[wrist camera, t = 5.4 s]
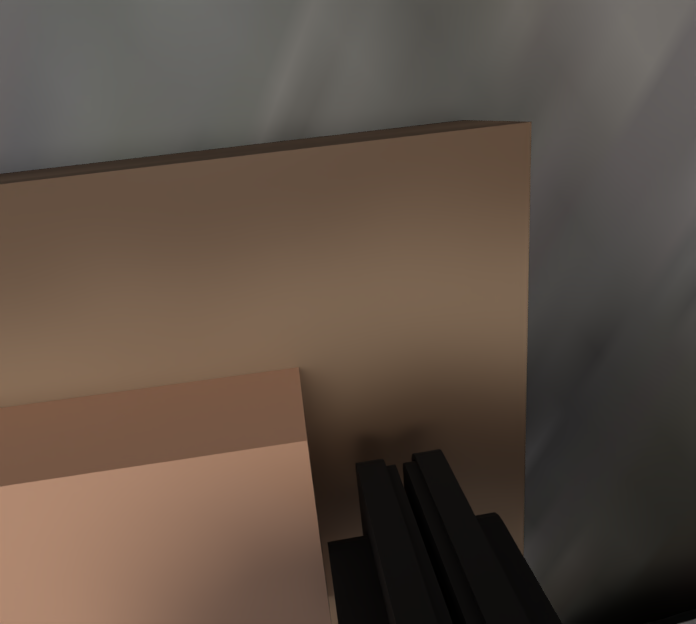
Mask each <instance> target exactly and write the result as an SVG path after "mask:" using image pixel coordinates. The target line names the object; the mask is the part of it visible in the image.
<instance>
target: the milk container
mask: <svg viewBox="0 0 696 624" xmlns="http://www.w3.org/2000/svg"><path fill="white" fill-rule="evenodd" d="M644 624H696V609H693V610H689V611H686V612H682V613H679V614H676V615H673V616H670V617H667V618H664V619H661V620H657V621H652V622H648V623H644Z"/></svg>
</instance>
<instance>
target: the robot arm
mask: <svg viewBox="0 0 696 624" xmlns="http://www.w3.org/2000/svg"><path fill="white" fill-rule="evenodd" d="M355 466H356V477H357V486H358V495H359V504H360V513H361V522H362V531H363V536H359V537H353V538H348V539H342V540H336V541H331V542H327V543H328V551H329V559H330V566H331V574H332V581H333V589H334V596H335V604H336V611H337V619H338V624H562V623H561V621H560V619H559V618H558V616H557V614H556V612H555V611H554V609H553V607H552V605H551V604H550V602H549V600H548V598H547V597H546V595H545V593H544V591H543V590H542V588H541V586H540V585H539V583H538V581H537V579H536V578H535V576H534V574H533V572H532V571H531V569H530V567H529V565H528V564H527V562H526V560H525V558H524V557H523V555H522V553H521V551H520V550H519V548H518V546H517V544H516V543H515V541H514V539H513V537H512V536H511V534H510V532H509V531H508V529H507V527H506V525H505V524H504V522H503V520H502V519H501V517H500V516H499V515H498V514H497V513H495V512H493V513H487V514H481V515H476V516H475V514H474V512H473V510H472V508H471V506H470V504H469V502H468V500H467V498H466V497H465V495H464V493H463V491H462V489H461V487H460V485H459V483H458V481H457V479H456V477H455V475H454V473H453V471H452V469H451V467H450V465H449V463H448V461H447V459H446V457H445V456H444V454H443V452H442V450H440V449H437V450H431V451H425V452H419V453H413V454H412V462H406V463H403V478H404V486H403V483H402V480H401V478H400V475H399V472H398V469H397V467H396V465H395V464H394V465H388V466H386V464H385V461H384V459H377V460H371V461H365V462H359V463H356V464H355Z"/></svg>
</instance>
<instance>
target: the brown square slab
mask: <svg viewBox="0 0 696 624" xmlns="http://www.w3.org/2000/svg"><path fill="white" fill-rule="evenodd" d="M530 165H531V122H515V121H473V120H462V121H453V122H444V123H436V124H427V125H419V126H410V127H401V128H393V129H384V130H375V131H367V132H358V133H349V134H341V135H332V136H324V137H315V138H306V139H298V140H289V141H280V142H272V143H263V144H255V145H246V146H237V147H229V148H220V149H211V150H203V151H194V152H185V153H177V154H168V155H160V156H151V157H142V158H134V159H125V160H116V161H108V162H99V163H90V164H82V165H73V166H65V167H56V168H47V169H39V170H30V171H21V172H13V173H4V174H0V408H3V407H10V406H18V405H25V404H32V403H40V402H47V401H54V400H62V399H69V398H76V397H84V396H91V395H98V394H106V393H113V392H120V391H128V390H135V389H142V388H150V387H157V386H164V385H172V384H179V383H186V382H194V381H201V380H208V379H216V378H223V377H230V376H238V375H245V374H252V373H260V372H267V371H274V370H282V369H289V368H296V367H299V373H300V381H301V388H302V396H303V404H304V411H305V419H306V427H307V434H308V442H309V450H310V457H311V465H312V473H313V481H314V488H315V496H316V504H317V511H318V519H319V527H320V534H321V542H322V550H323V558H324V565H325V573H326V581H327V588H328V596H329V604H330V612H331V621H332V624H338V619H337V611H336V604H335V596H334V589H333V581H332V574H331V566H330V559H329V551H328V543H327V542H331V541H336V540H342V539H348V538H353V537H359V536H363V531H362V522H361V513H360V504H359V495H358V486H357V477H356V466H355V464H356V463H359V462H365V461H371V460H377V459H384V461H385V464H386V466H388V465H394V464H395V465H396V467H397V469H398V472H399V475H400V478H401V480H402V483H403V486H404V478H403V463H406V462H412V454H413V453H419V452H425V451H431V450H437V449H440V450H442V452H443V454H444V456H445V457H446V459H447V461H448V463H449V465H450V467H451V469H452V471H453V473H454V475H455V477H456V479H457V481H458V483H459V485H460V487H461V489H462V491H463V493H464V495H465V497H466V498H467V500H468V502H469V504H470V506H471V508H472V510H473V512H474V514H475V516H476V515H481V514H487V513H493V512H495V513H497V514H498V515H499V516H500V517H501V519H502V520H503V522H504V524H505V525H506V527H507V529H508V531H509V532H510V534H511V536H512V537H513V539H514V541H515V543H516V544H517V546H518V548H519V550H520V551H521V553H522V555H523V550H524V495H525V440H526V385H527V330H528V275H529V220H530Z"/></svg>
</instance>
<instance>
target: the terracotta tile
mask: <svg viewBox="0 0 696 624" xmlns="http://www.w3.org/2000/svg"><path fill="white" fill-rule="evenodd" d="M0 624H332V621H331V612H330V604H329V596H328V588H327V581H326V573H325V565H324V558H323V550H322V542H321V534H320V527H319V519H318V511H317V504H316V496H315V488H314V481H313V473H312V465H311V457H310V450H309V442H308V434H307V427H306V419H305V411H304V404H303V396H302V388H301V381H300V373H299V367H296V368H289V369H282V370H274V371H267V372H260V373H252V374H245V375H238V376H230V377H223V378H216V379H208V380H201V381H194V382H186V383H179V384H172V385H164V386H157V387H150V388H142V389H135V390H128V391H120V392H113V393H106V394H98V395H91V396H84V397H76V398H69V399H62V400H54V401H47V402H40V403H32V404H25V405H18V406H10V407H3V408H0Z"/></svg>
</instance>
